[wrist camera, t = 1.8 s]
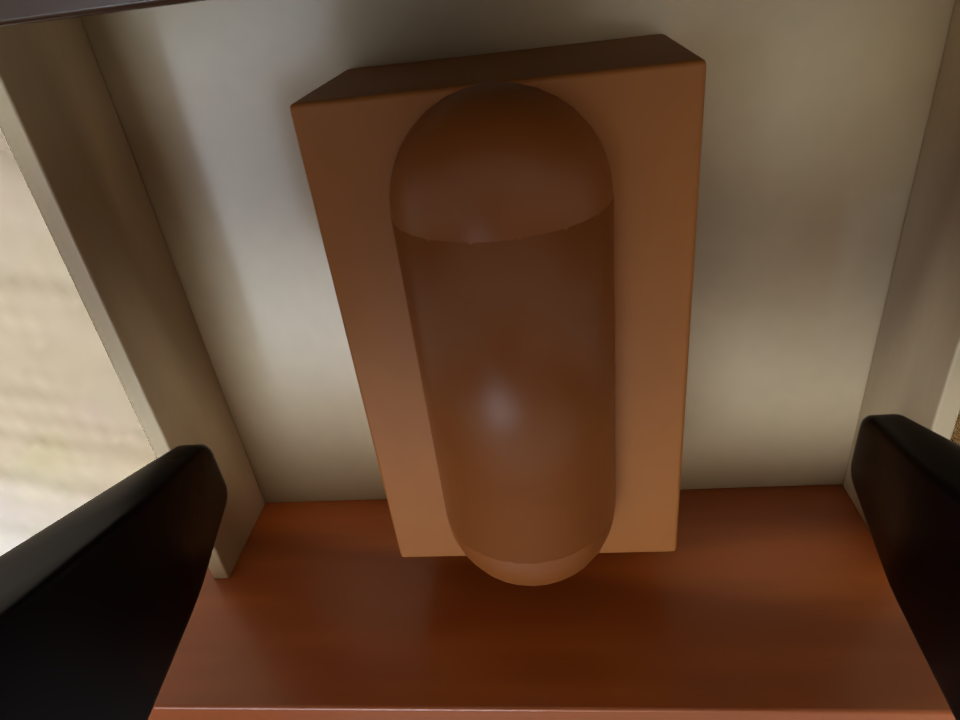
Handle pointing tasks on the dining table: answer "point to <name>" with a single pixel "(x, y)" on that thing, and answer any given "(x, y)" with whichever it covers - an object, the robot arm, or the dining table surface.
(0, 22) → the cabinet
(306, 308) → the drawer
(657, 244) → the loaf
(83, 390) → the dining table surface
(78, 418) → the dining table surface
